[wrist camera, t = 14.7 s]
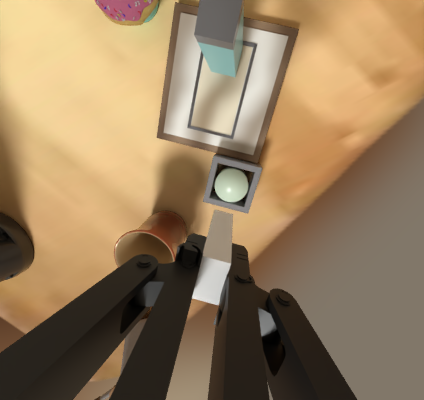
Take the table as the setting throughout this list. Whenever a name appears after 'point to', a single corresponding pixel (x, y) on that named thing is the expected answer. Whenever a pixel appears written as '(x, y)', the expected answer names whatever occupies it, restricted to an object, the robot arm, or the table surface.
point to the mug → (153, 239)
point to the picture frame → (223, 88)
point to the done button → (231, 184)
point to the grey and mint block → (220, 34)
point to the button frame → (256, 170)
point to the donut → (129, 10)
